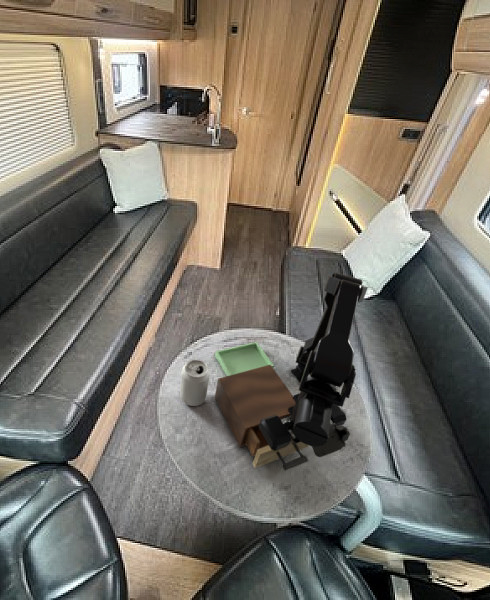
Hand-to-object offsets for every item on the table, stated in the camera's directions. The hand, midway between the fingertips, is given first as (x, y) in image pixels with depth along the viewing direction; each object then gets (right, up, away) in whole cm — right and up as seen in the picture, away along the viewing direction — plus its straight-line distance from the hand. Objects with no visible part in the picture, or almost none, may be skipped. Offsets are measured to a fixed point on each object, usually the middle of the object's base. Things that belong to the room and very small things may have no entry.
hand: (293, 443), depth 72 cm
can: (-23, +5, +18) cm, 30 cm away
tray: (-8, +12, +30) cm, 34 cm away
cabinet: (-7, +2, +16) cm, 17 cm away
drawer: (-3, -3, +9) cm, 10 cm away
